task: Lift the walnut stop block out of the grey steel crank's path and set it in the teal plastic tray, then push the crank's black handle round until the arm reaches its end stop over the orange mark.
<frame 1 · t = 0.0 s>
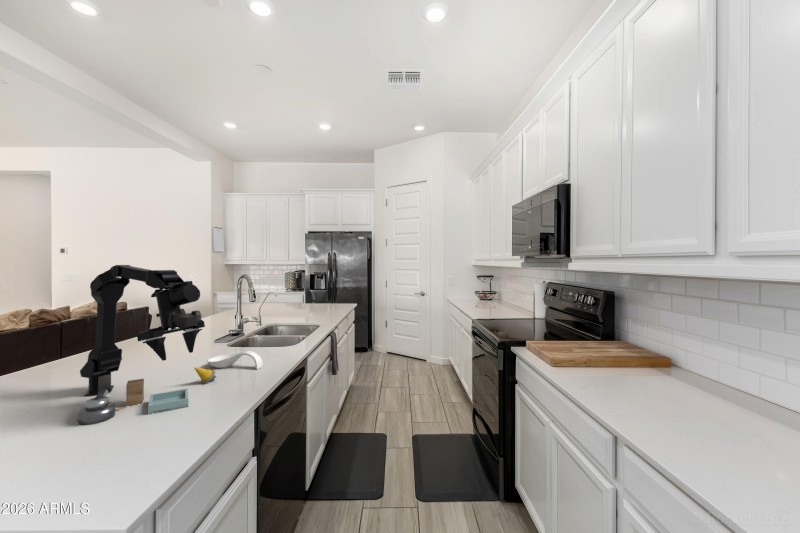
hand: (178, 356, 103), 15 cm above the counter, fingers open, 9 cm apart
spoon rest: (235, 367, 141), on the counter
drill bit: (205, 383, 121), on the counter
stop block: (135, 403, 104), on the counter
crank base: (96, 418, 93), on the counter
crank: (100, 391, 98), point 6 cm above the counter, hinge at 0.0°
tray: (169, 404, 103), on the counter
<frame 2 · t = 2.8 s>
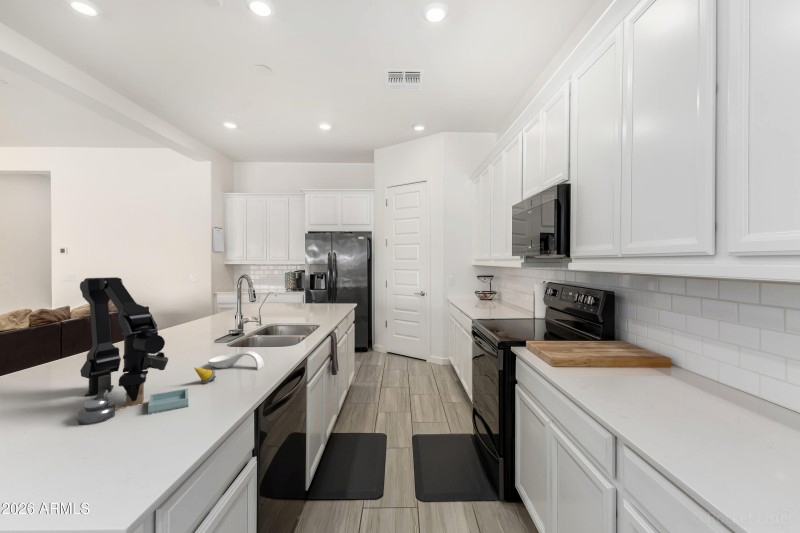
hand: (135, 398, 104), 2 cm above the counter, fingers closed on stop block, 4 cm apart
stop block: (135, 403, 104), on the counter, touching gripper
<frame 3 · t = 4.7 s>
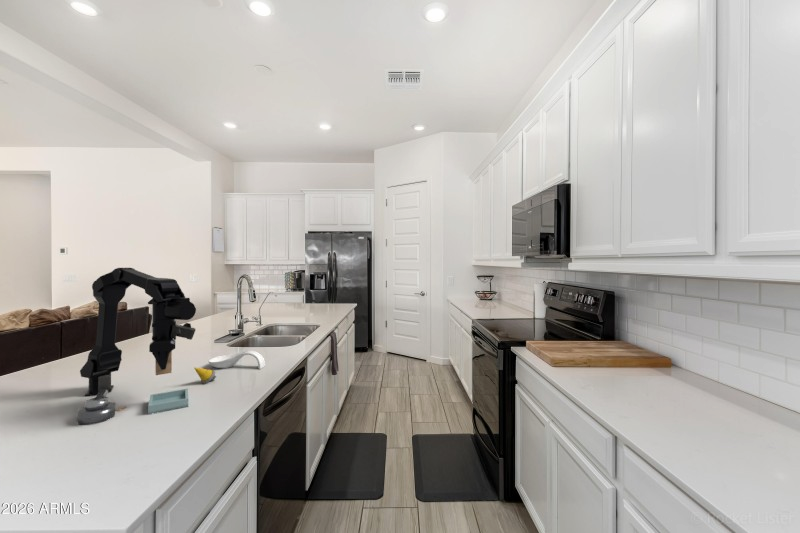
hand: (163, 367, 103), 12 cm above the counter, fingers closed on stop block, 4 cm apart
stop block: (163, 372, 103), point 10 cm above the counter, touching gripper
when the fingers open (4 cm above the counter, at t = 6.6 s): stop block drops 1 cm, resting on tray.
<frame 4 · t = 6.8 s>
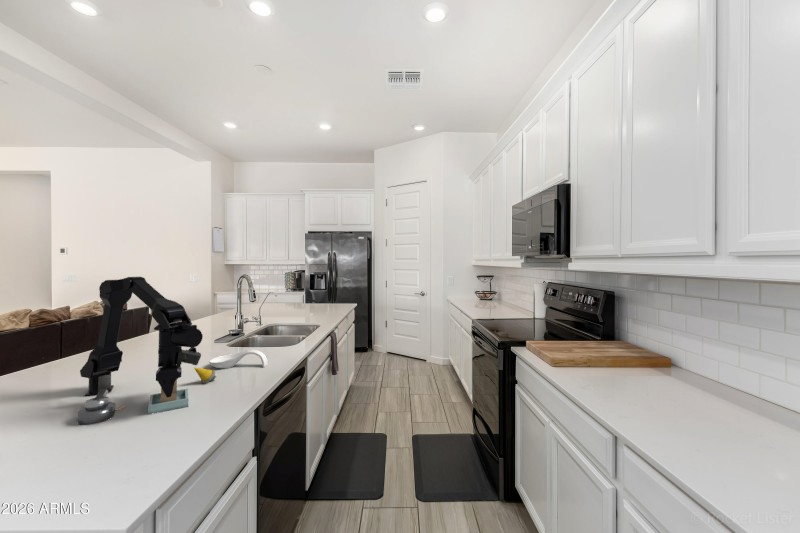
hand: (169, 393, 103), 4 cm above the counter, fingers open, 6 cm apart
stop block: (168, 402, 103), point 1 cm above the counter, touching tray
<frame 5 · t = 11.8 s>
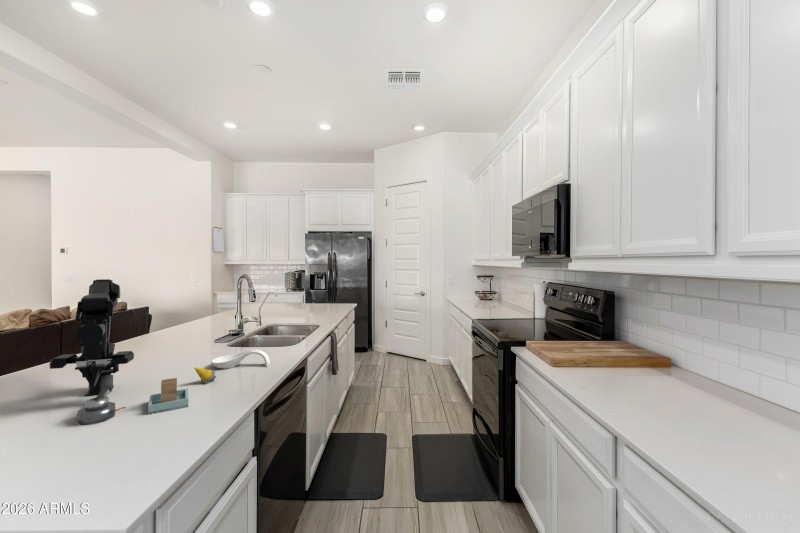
hand: (93, 386, 102), 6 cm above the counter, fingers closed
crank: (101, 391, 98), point 6 cm above the counter, hinge at 2.4°, touching gripper
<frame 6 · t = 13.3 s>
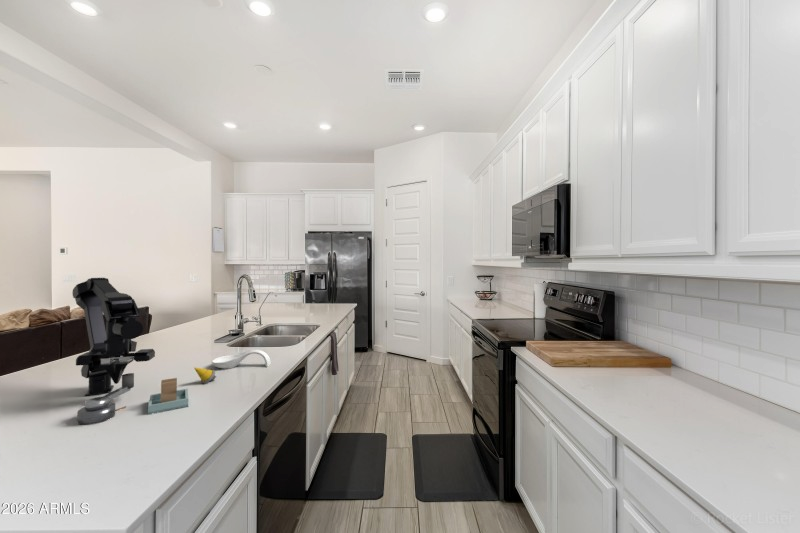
hand: (116, 383, 104), 6 cm above the counter, fingers closed
crank: (112, 390, 99), point 6 cm above the counter, hinge at 29.2°, touching gripper
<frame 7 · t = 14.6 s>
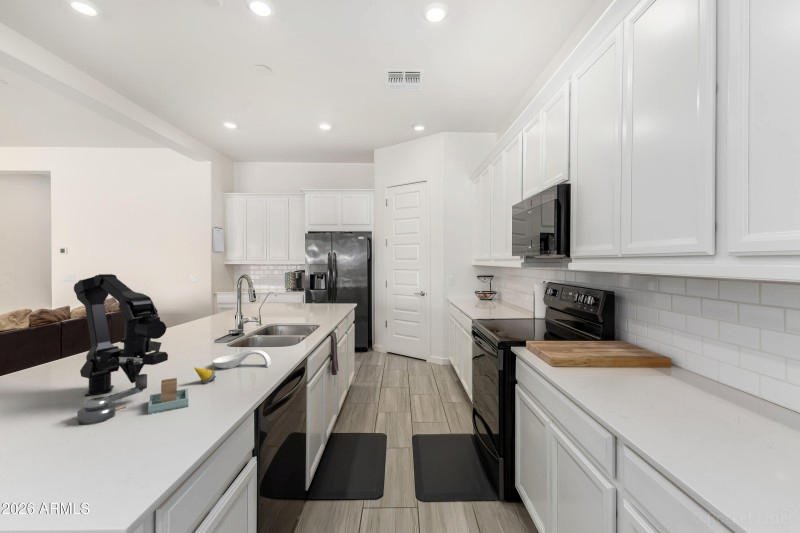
hand: (133, 382, 105), 6 cm above the counter, fingers closed
crank: (118, 390, 98), point 6 cm above the counter, hinge at 52.1°, touching gripper
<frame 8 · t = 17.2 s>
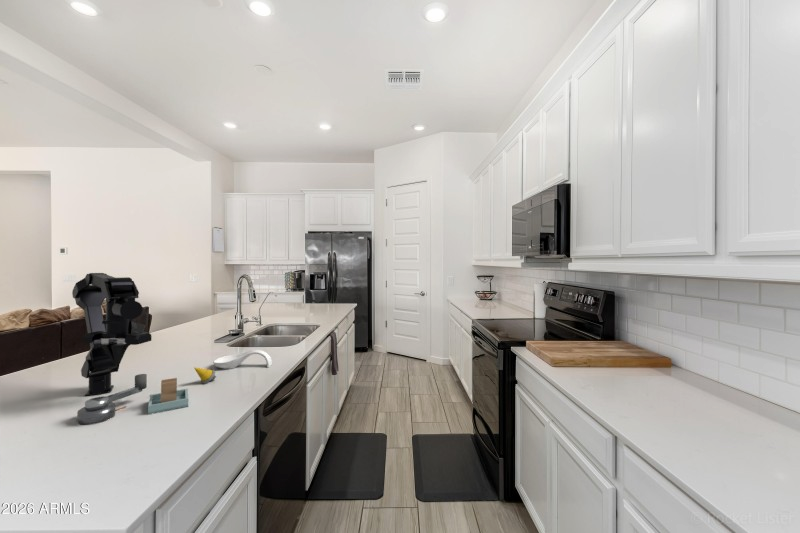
hand: (117, 364, 105), 12 cm above the counter, fingers closed
crank: (118, 390, 98), point 6 cm above the counter, hinge at 50.9°
at the end: stop block 0.0 cm off-centre on the tray, point 0.6 cm above the tray's base; crank at +51° (first picture: +0°) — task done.
